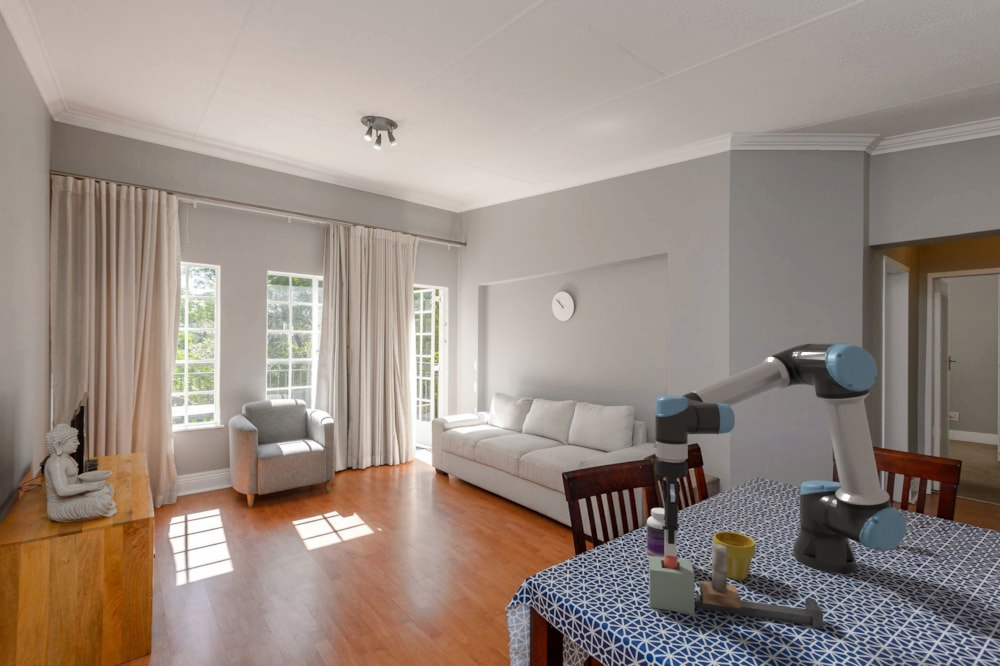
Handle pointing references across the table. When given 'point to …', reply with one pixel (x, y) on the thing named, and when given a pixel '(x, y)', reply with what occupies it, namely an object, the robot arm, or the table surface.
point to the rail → (772, 611)
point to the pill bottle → (656, 533)
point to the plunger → (670, 562)
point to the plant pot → (736, 553)
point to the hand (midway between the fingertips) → (670, 554)
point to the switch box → (671, 585)
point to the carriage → (719, 582)
